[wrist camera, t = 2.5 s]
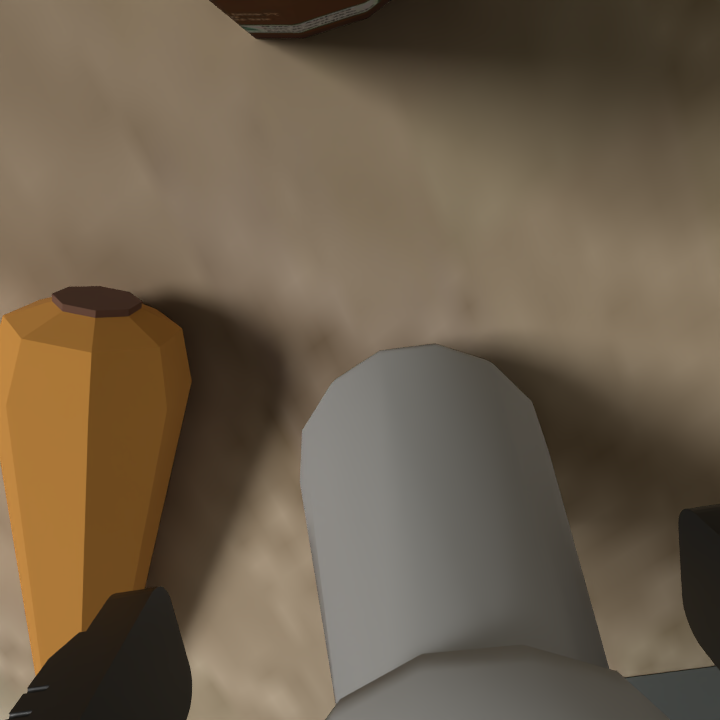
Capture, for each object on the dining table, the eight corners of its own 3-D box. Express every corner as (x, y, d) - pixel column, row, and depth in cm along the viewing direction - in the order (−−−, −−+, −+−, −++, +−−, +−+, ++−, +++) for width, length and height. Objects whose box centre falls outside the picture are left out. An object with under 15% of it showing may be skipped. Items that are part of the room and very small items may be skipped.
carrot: (104, 263, 16) (-69, 283, 12) (237, 309, 15) (88, 348, 11) (82, 765, 23) (-34, 881, 19) (172, 833, 22) (65, 975, 18)
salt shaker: (446, 558, 17) (638, 1502, 5) (273, 463, 17) (-43, 1250, 4) (564, 393, 16) (1273, 1082, 3) (381, 284, 15) (407, 622, 3)
